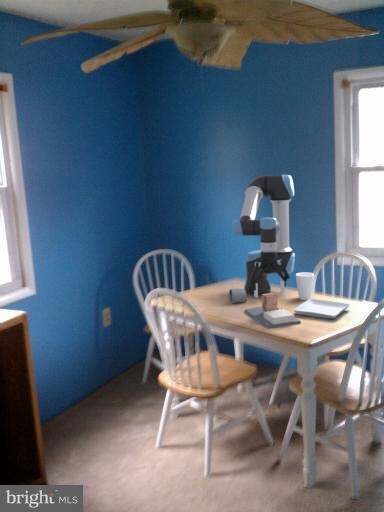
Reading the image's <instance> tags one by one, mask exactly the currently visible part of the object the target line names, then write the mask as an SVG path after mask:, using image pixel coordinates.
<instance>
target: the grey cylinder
mask: <svg viewBox="0 0 384 512" xmlns="http://www.w3.org/2000/svg"><path fill="white" fill-rule="evenodd" d="M247 295H248V294H246V290H245V289H244V288H230V289H229V292H228V297H229V302H230V304H236V303H237V304H239V303H240V304H241V303H245V302H246V301H247Z"/></svg>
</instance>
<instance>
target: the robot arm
mask: <svg viewBox="0 0 384 512" xmlns="http://www.w3.org/2000/svg"><path fill="white" fill-rule="evenodd" d="M294 185H295V184H294V181H293V178H292V176H291V174H290V175H289V174H270V175H269V174H268V175H266V174H264V175H260V176H257V177H255V178H254V179H253V180H251V181H250V182H249V184H247V187H246V189H245V192H244V196H245V199H244V201H243V206H242V209H241V212H240V217H239V218H238V219H235V220H234V221H233V222H232V232H233V235H235V236H241V237H244V236H259V238H260V244H259V245H260V249H257V250H252V251H249V252H248V253H246V256H245V257H246V259H245V265H246V266H245V267H246V280H245V283H244V287H243V289H245V290H246V294H247V295H250V296H251V295H254V297H255V298H258V297H259V296H262V294H268V293H272V286H271V284H270V281H269V278H268V275H277V276H279V277H280V294H282V295H285V291H286V290H285V287H286V286H287V281H288V280H289V279H290V278H291V276H290V275H291V274H292V273H293V271H294V267H295V260H296V253H295V252H293V248H291V247H290V216H289V215H290V210H289V208H290V207H289V203H291V201H292V197H294V196H295V188H294ZM263 198H269V201H270V202H271V204H272V217H271V216H270V217H261V218H259V219H256V216H257V214H258V210H259V205H260V201H261V200H262V199H263Z"/></svg>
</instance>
